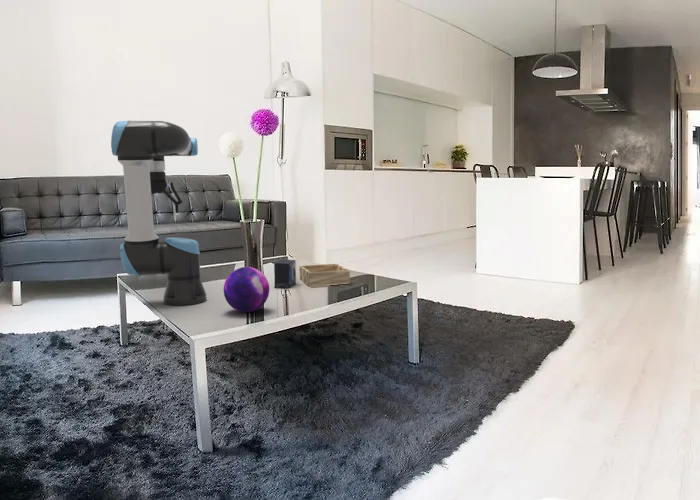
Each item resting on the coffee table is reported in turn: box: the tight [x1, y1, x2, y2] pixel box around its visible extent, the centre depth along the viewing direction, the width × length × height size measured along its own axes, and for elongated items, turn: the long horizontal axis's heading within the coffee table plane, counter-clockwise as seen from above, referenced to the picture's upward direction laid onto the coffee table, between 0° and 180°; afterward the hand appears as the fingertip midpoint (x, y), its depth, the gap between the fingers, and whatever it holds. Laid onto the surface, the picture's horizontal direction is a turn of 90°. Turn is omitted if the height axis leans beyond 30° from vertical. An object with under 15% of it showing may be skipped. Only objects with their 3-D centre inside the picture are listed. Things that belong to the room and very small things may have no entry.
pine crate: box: [298, 263, 351, 289], centre depth 244 cm, size 21×17×6 cm
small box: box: [273, 259, 297, 289], centre depth 237 cm, size 11×6×10 cm, turn 168°
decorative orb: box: [223, 266, 270, 313], centre depth 191 cm, size 15×15×15 cm
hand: (159, 220), depth 249 cm, fingers open, 13 cm apart
